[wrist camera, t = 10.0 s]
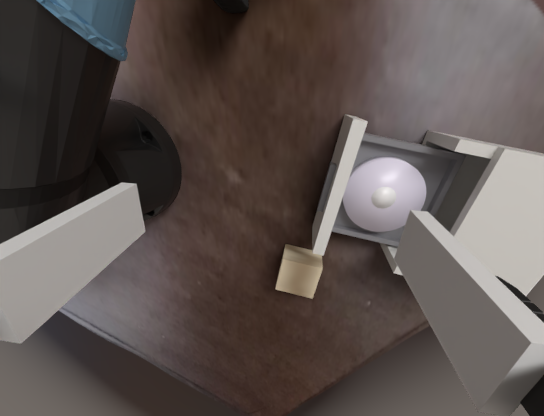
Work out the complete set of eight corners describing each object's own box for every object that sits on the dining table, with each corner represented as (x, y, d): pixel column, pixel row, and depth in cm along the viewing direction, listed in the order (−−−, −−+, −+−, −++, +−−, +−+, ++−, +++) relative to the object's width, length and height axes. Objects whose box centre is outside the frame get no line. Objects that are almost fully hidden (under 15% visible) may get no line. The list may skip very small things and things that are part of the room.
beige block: (278, 272, 36) (275, 289, 33) (285, 243, 34) (282, 259, 31) (312, 280, 36) (312, 298, 32) (321, 252, 33) (322, 268, 30)
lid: (401, 232, 28) (406, 239, 27) (333, 216, 29) (334, 222, 27) (433, 165, 25) (441, 169, 24) (355, 148, 26) (357, 151, 24)
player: (379, 242, 32) (395, 278, 25) (427, 130, 26) (465, 140, 19) (474, 264, 31) (516, 307, 25) (547, 154, 25) (627, 173, 19)
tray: (307, 225, 32) (306, 251, 26) (339, 113, 26) (346, 117, 21) (404, 247, 31) (423, 279, 26) (458, 137, 25) (498, 148, 20)
